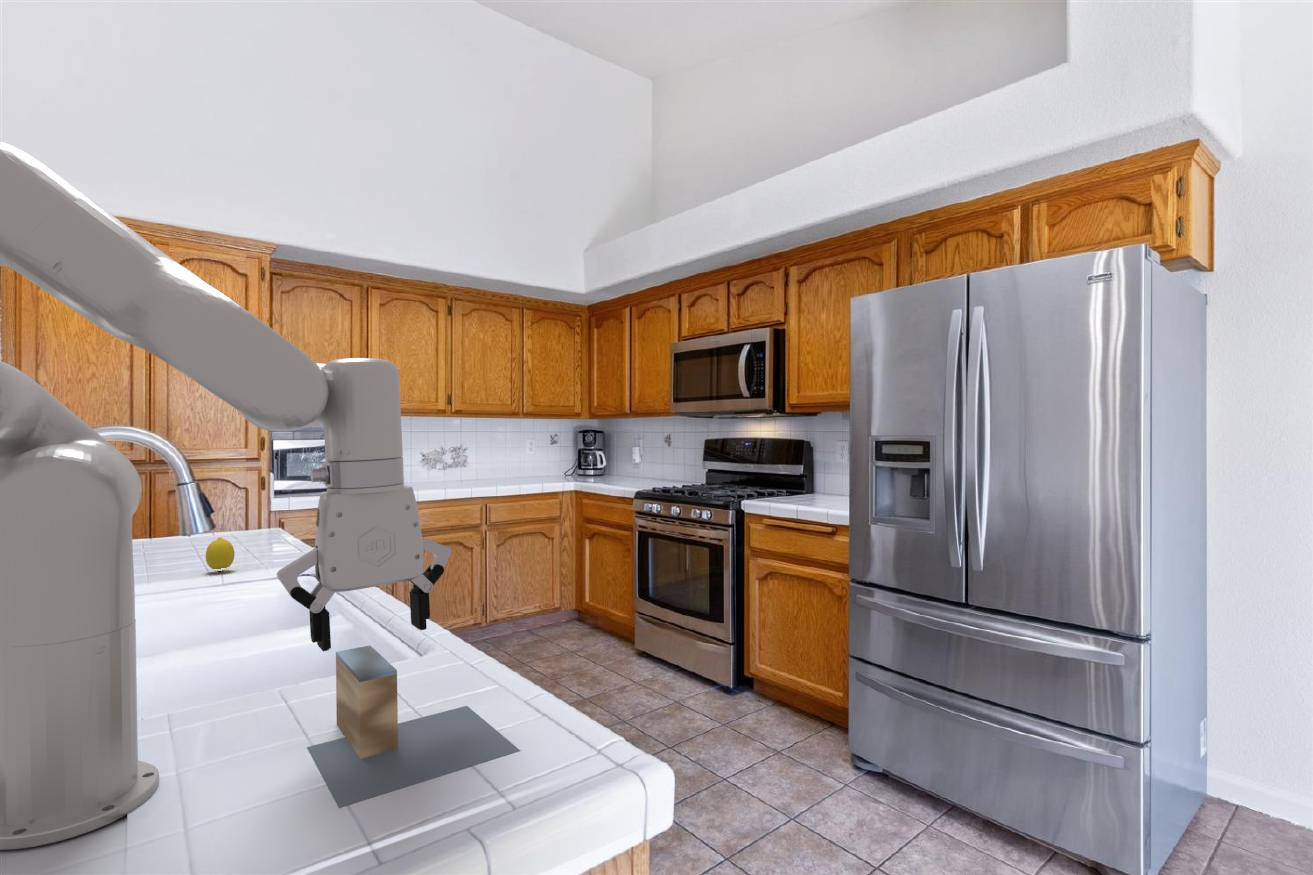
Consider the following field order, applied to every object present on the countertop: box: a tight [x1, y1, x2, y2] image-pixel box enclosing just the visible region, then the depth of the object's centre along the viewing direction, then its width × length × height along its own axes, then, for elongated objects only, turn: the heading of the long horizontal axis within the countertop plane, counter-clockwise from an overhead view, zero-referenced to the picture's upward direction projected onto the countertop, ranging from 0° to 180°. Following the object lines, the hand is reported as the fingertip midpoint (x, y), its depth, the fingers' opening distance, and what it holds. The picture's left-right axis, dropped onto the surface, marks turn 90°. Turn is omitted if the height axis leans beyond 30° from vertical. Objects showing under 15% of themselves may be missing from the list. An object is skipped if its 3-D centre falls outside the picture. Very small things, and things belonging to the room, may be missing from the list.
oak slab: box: [335, 645, 399, 759], centre depth 73 cm, size 4×10×8 cm, turn 37°
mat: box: [306, 705, 521, 809], centre depth 70 cm, size 17×14×1 cm
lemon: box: [205, 537, 235, 570], centre depth 156 cm, size 6×6×8 cm
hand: (373, 636), depth 73 cm, fingers open, 9 cm apart
